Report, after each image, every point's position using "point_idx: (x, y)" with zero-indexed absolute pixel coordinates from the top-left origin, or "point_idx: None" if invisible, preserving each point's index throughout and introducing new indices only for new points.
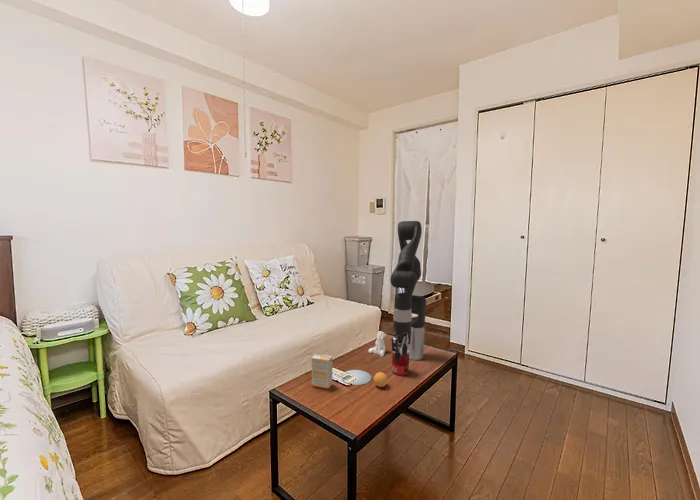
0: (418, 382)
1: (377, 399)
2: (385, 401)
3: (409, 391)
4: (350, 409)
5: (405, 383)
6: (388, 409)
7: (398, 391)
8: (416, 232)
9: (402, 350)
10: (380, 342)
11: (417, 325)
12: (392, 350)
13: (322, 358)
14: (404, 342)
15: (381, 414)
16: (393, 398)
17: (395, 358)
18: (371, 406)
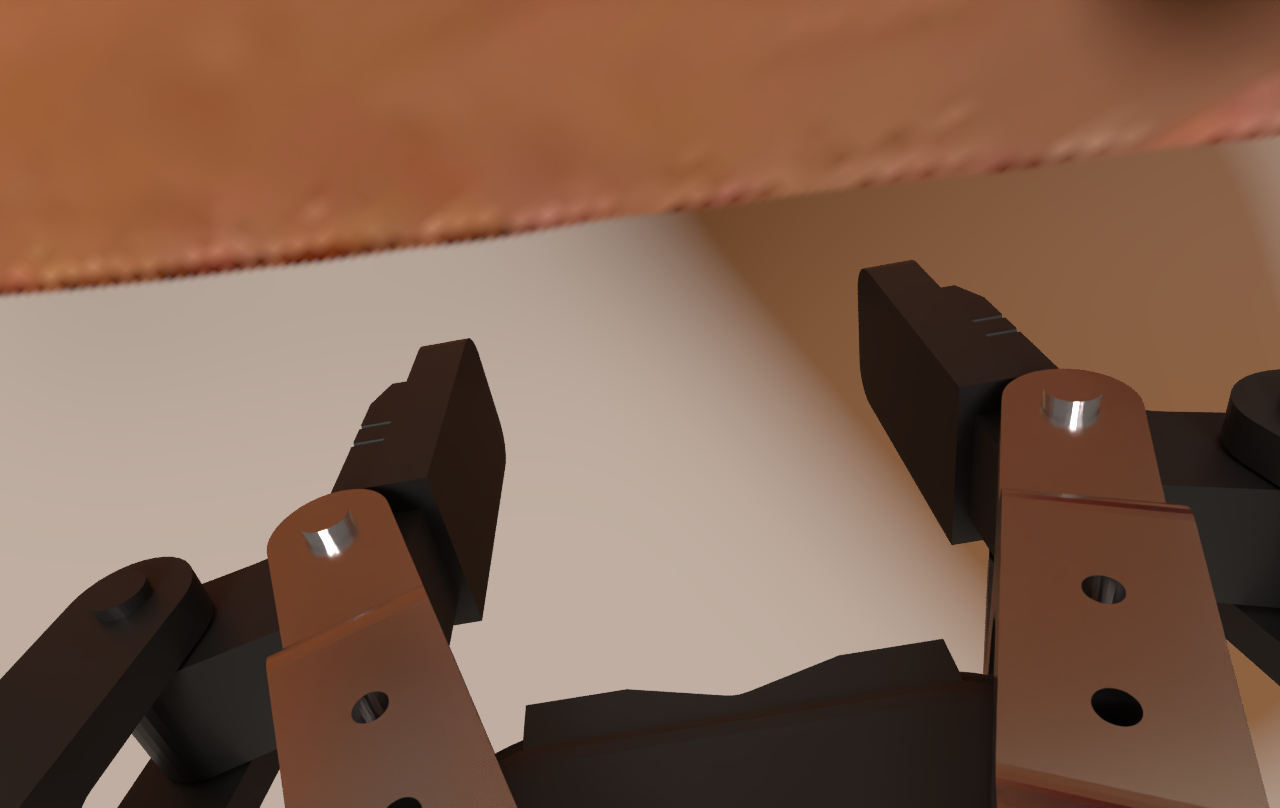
0: (1040, 135)
1: (259, 12)
2: (325, 125)
3: (751, 190)
4: None
5: (906, 17)
6: (246, 258)
7: (648, 88)
8: None
9: (904, 337)
10: None
11: None
12: (81, 618)
13: None
14: (987, 659)
15: (112, 266)
16: (463, 152)
17: (379, 415)
18: (83, 73)
